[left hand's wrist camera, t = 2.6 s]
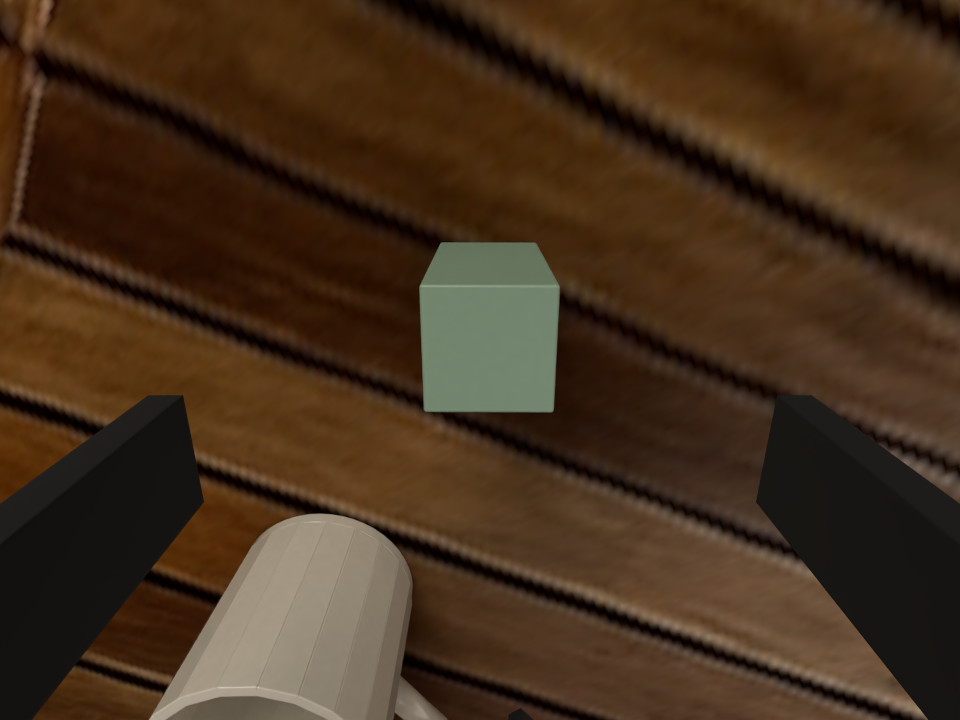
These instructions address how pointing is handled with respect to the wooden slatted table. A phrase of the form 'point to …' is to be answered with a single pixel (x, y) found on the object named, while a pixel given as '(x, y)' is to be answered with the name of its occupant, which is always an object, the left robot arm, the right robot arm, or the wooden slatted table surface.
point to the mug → (305, 632)
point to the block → (489, 329)
